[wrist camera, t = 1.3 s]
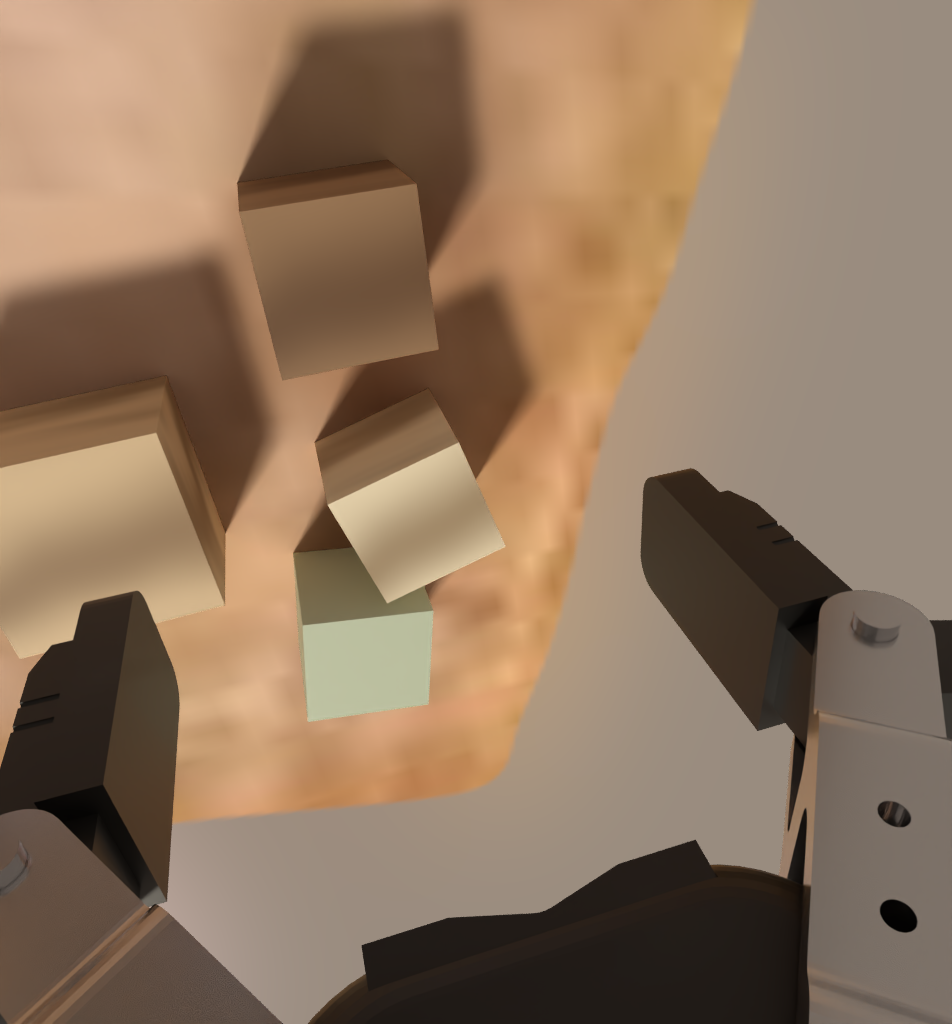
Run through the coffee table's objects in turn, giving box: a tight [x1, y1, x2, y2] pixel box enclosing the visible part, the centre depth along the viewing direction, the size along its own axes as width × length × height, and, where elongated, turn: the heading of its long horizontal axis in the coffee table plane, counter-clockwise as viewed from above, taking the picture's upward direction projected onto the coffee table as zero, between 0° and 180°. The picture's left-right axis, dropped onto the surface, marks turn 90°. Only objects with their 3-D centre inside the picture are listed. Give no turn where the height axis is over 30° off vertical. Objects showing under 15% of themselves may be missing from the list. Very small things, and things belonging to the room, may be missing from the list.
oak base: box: [0, 376, 225, 659], centre depth 27 cm, size 7×7×5 cm
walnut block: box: [237, 160, 439, 380], centre depth 25 cm, size 5×5×5 cm
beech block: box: [315, 388, 506, 603], centre depth 30 cm, size 5×5×5 cm
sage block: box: [293, 548, 433, 722], centre depth 33 cm, size 5×5×5 cm
